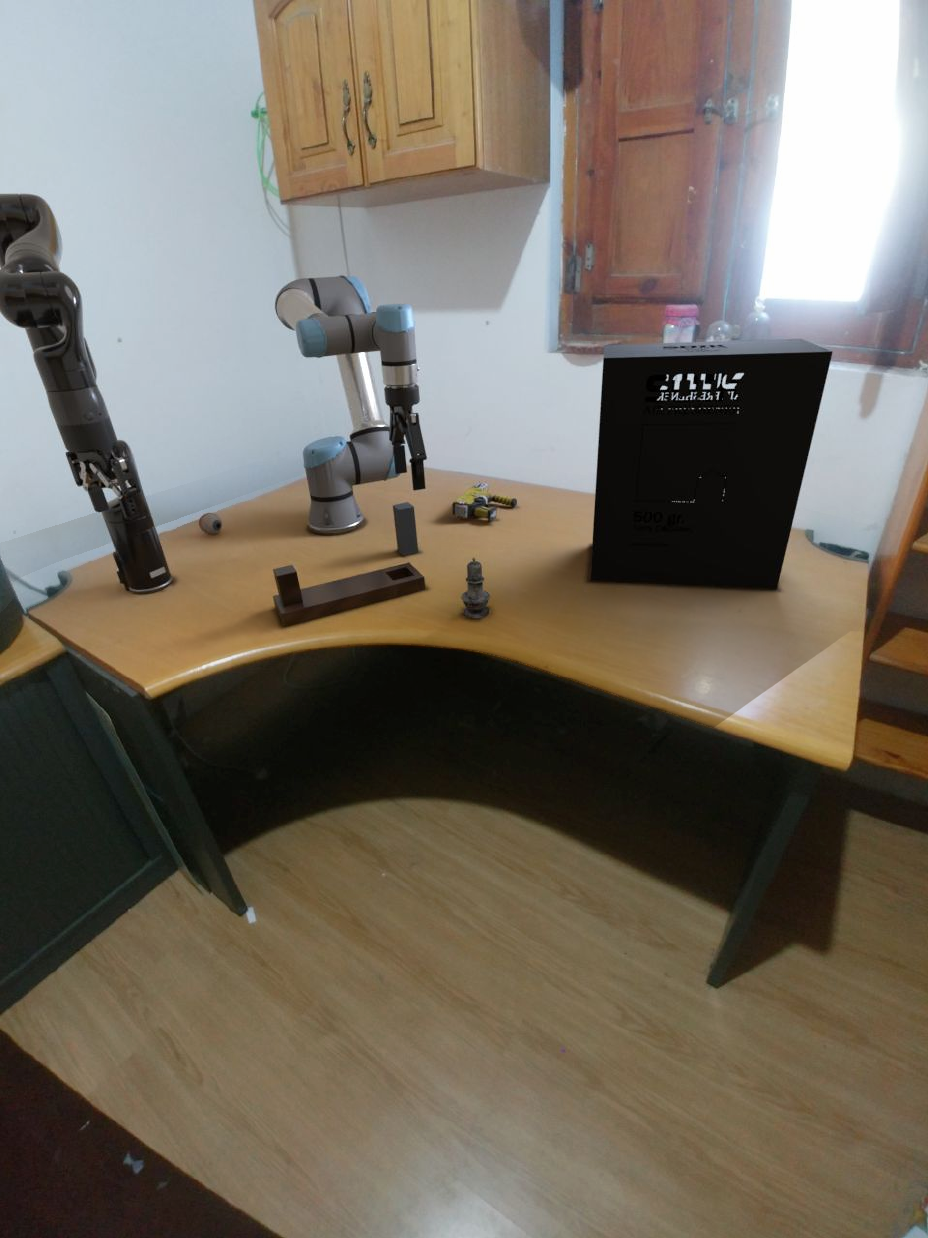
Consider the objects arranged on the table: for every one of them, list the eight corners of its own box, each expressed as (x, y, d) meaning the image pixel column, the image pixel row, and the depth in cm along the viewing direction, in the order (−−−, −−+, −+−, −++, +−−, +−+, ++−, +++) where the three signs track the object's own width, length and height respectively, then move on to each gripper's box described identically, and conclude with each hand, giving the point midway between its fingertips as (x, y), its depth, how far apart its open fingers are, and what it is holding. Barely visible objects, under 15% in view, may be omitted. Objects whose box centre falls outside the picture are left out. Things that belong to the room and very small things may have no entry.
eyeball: (212, 539, 164) (206, 518, 161) (197, 535, 167) (191, 515, 164) (230, 531, 169) (224, 511, 166) (215, 528, 172) (210, 508, 169)
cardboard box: (756, 549, 141) (800, 338, 118) (776, 589, 124) (832, 351, 101) (592, 544, 148) (604, 344, 126) (590, 580, 131) (603, 357, 109)
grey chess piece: (488, 619, 119) (486, 564, 113) (459, 618, 120) (455, 563, 114) (493, 605, 124) (491, 551, 118) (465, 604, 125) (462, 550, 119)
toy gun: (525, 486, 181) (478, 479, 184) (503, 510, 160) (450, 501, 164) (523, 501, 183) (477, 494, 187) (501, 526, 163) (450, 518, 167)
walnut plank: (284, 626, 121) (274, 582, 116) (275, 608, 128) (265, 565, 123) (425, 589, 132) (421, 547, 127) (410, 573, 140) (405, 533, 135)
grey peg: (403, 556, 149) (398, 509, 143) (397, 550, 152) (392, 505, 146) (418, 552, 150) (414, 506, 144) (412, 547, 153) (407, 501, 147)
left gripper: (131, 415, 95) (162, 513, 103) (79, 409, 101) (112, 501, 110) (86, 426, 89) (122, 528, 98) (33, 419, 96) (72, 515, 104)
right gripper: (437, 392, 121) (443, 493, 132) (400, 374, 141) (408, 464, 152) (401, 396, 119) (411, 499, 130) (369, 378, 139) (380, 469, 150)
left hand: (117, 514), depth 104 cm, fingers open, 8 cm apart
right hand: (410, 480), depth 141 cm, fingers open, 13 cm apart
